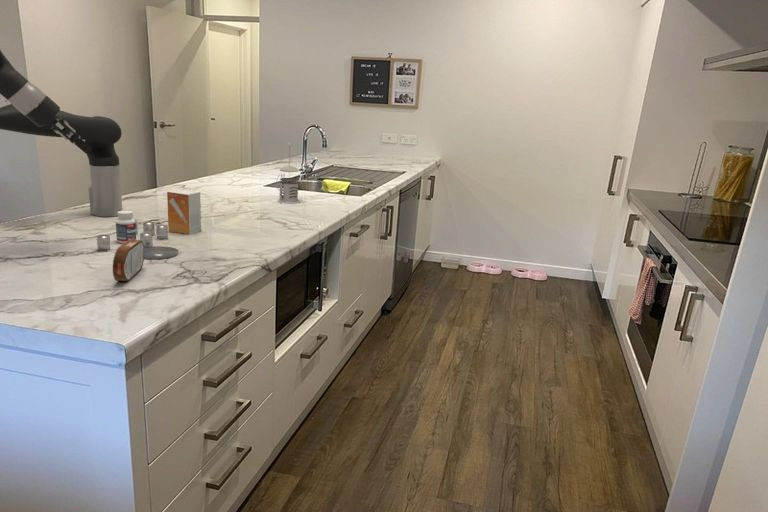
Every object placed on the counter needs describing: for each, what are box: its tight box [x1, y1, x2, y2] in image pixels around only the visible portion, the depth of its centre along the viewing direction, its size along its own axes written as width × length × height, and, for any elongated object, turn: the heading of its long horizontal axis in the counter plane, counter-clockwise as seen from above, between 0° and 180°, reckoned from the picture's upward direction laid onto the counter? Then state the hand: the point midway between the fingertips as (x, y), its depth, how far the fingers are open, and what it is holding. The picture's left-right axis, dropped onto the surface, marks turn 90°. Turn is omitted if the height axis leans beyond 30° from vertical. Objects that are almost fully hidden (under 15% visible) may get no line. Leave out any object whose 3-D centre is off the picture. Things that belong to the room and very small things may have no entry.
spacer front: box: [155, 224, 169, 241], centre depth 169 cm, size 3×3×4 cm
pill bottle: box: [115, 210, 137, 244], centre depth 163 cm, size 5×5×9 cm
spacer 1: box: [134, 219, 139, 235], centre depth 172 cm, size 3×3×4 cm
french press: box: [276, 142, 301, 205], centre depth 233 cm, size 10×12×25 cm
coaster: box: [144, 245, 179, 260], centre depth 154 cm, size 11×11×1 cm
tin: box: [112, 239, 145, 282], centre depth 135 cm, size 15×3×8 cm, turn 5°
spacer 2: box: [139, 232, 154, 248], centre depth 159 cm, size 3×3×4 cm
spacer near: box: [96, 234, 111, 252], centre depth 154 cm, size 3×3×4 cm
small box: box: [166, 188, 202, 235], centre depth 178 cm, size 8×6×13 cm
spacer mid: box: [142, 221, 156, 237], centre depth 171 cm, size 3×3×4 cm
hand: (87, 149), depth 153 cm, fingers open, 8 cm apart
